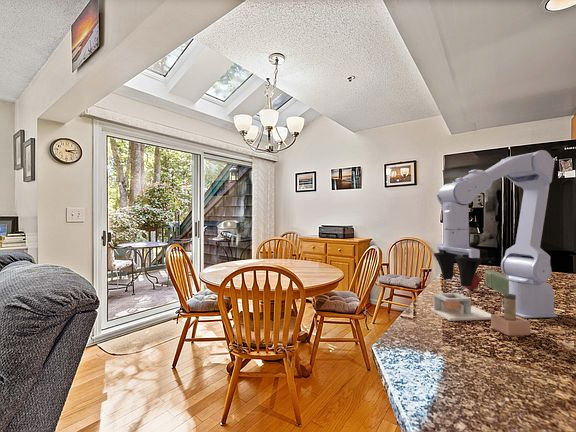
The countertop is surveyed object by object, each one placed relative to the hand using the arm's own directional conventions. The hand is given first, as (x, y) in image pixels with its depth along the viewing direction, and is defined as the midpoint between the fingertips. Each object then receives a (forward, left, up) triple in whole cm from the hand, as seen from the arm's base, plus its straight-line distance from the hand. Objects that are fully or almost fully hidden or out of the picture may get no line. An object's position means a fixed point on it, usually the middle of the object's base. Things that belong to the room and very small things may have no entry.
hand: (456, 282), depth 75 cm
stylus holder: (-8, +7, -10) cm, 15 cm away
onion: (-24, -29, -10) cm, 39 cm away
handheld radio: (-32, -22, -11) cm, 41 cm away
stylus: (-8, +7, -10) cm, 15 cm away
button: (-2, -5, -8) cm, 10 cm away
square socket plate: (-5, -5, -10) cm, 13 cm away
